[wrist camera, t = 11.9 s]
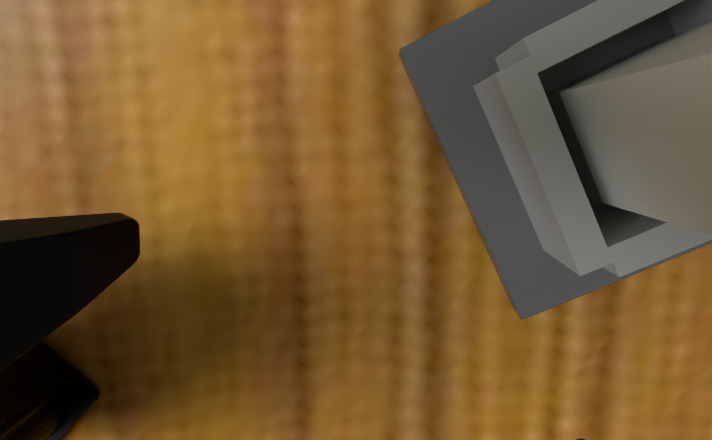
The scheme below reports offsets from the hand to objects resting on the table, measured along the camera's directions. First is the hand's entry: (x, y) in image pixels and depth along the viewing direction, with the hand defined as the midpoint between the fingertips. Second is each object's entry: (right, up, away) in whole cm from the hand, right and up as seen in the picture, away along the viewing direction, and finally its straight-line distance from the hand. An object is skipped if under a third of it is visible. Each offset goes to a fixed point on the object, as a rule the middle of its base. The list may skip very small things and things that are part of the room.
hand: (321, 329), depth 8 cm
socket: (+11, +6, +11) cm, 17 cm away
